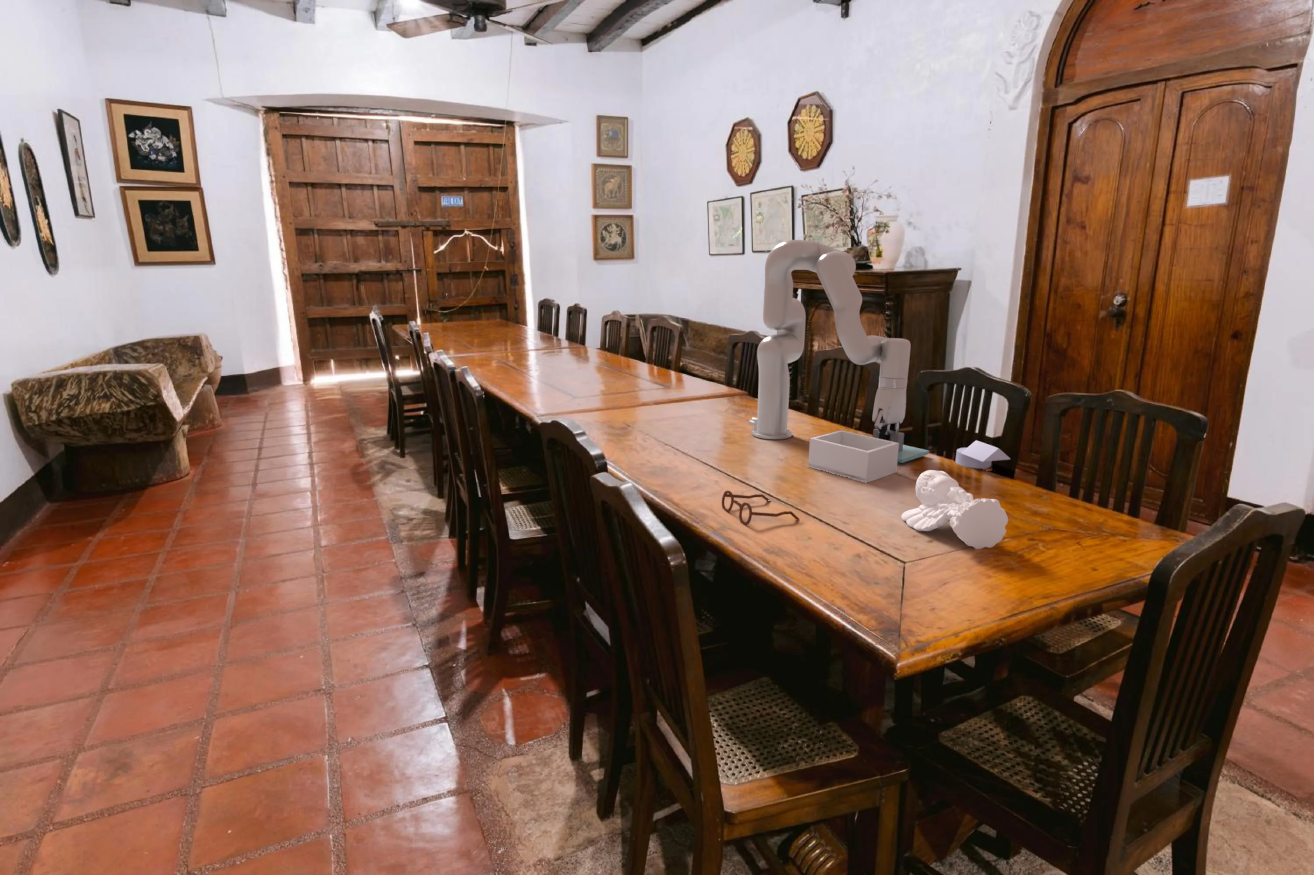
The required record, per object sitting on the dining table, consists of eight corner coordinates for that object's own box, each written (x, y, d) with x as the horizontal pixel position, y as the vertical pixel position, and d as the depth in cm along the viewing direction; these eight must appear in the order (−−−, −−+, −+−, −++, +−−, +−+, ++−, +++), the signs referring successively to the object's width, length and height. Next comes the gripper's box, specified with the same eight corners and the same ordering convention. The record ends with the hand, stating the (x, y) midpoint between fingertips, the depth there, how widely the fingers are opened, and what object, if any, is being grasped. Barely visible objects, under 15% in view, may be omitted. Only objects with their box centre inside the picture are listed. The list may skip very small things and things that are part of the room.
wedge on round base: (1009, 471, 189) (975, 458, 201) (1012, 447, 187) (978, 435, 199) (981, 474, 186) (948, 460, 198) (984, 449, 185) (951, 437, 197)
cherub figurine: (951, 504, 133) (899, 463, 152) (942, 561, 138) (892, 515, 156) (1014, 498, 136) (954, 458, 154) (1003, 555, 140) (946, 509, 158)
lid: (845, 449, 205) (847, 429, 204) (873, 441, 214) (874, 421, 212) (902, 463, 192) (904, 441, 190) (928, 454, 201) (930, 433, 199)
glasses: (720, 509, 161) (720, 488, 160) (770, 502, 165) (771, 482, 164) (747, 529, 149) (748, 507, 148) (801, 521, 154) (802, 500, 152)
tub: (808, 466, 191) (809, 438, 189) (839, 457, 200) (841, 430, 198) (865, 483, 178) (868, 452, 176) (896, 472, 187) (899, 443, 185)
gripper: (896, 378, 206) (890, 439, 211) (864, 384, 196) (859, 448, 200) (920, 381, 200) (914, 444, 205) (888, 388, 190) (882, 454, 195)
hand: (887, 445), depth 203 cm, fingers closed on lid, 2 cm apart
